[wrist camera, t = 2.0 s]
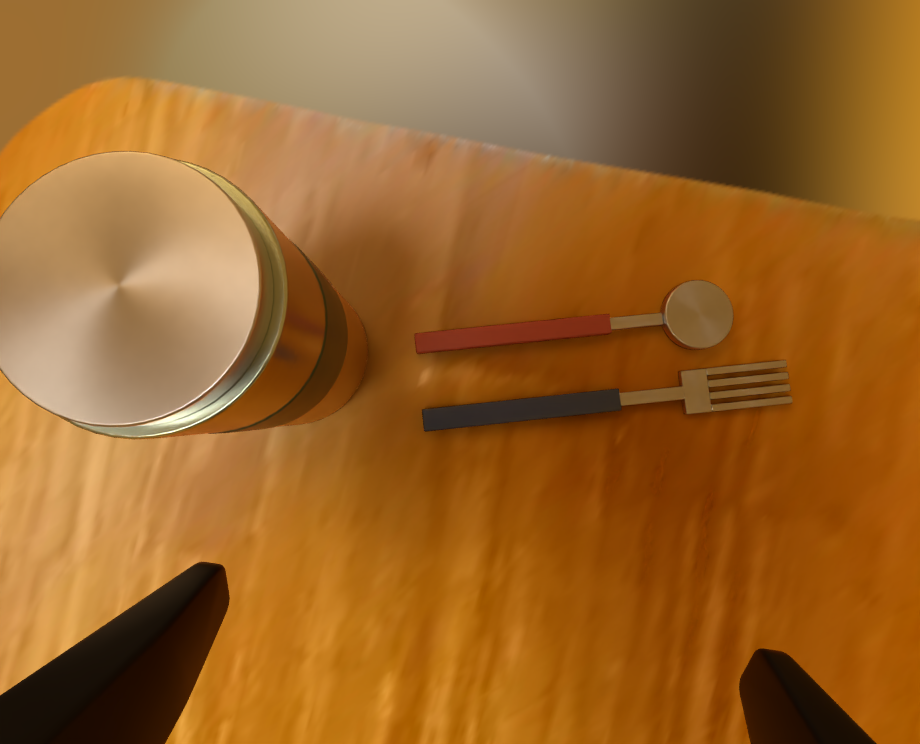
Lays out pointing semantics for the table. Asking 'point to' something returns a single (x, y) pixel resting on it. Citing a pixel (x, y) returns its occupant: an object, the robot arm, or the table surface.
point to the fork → (617, 399)
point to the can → (166, 305)
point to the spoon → (606, 324)
